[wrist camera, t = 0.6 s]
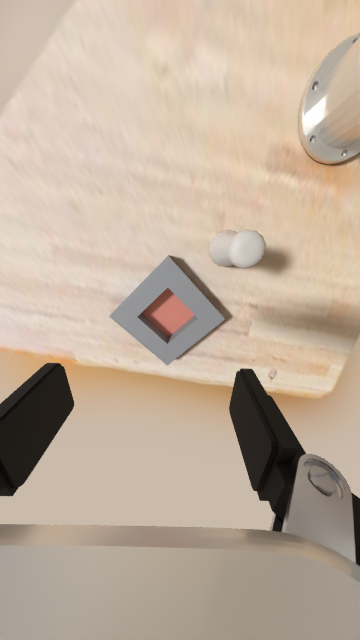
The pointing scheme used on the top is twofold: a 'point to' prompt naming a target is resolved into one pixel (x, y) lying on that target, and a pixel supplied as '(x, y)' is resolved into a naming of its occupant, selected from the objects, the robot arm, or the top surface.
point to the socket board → (167, 312)
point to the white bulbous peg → (237, 248)
